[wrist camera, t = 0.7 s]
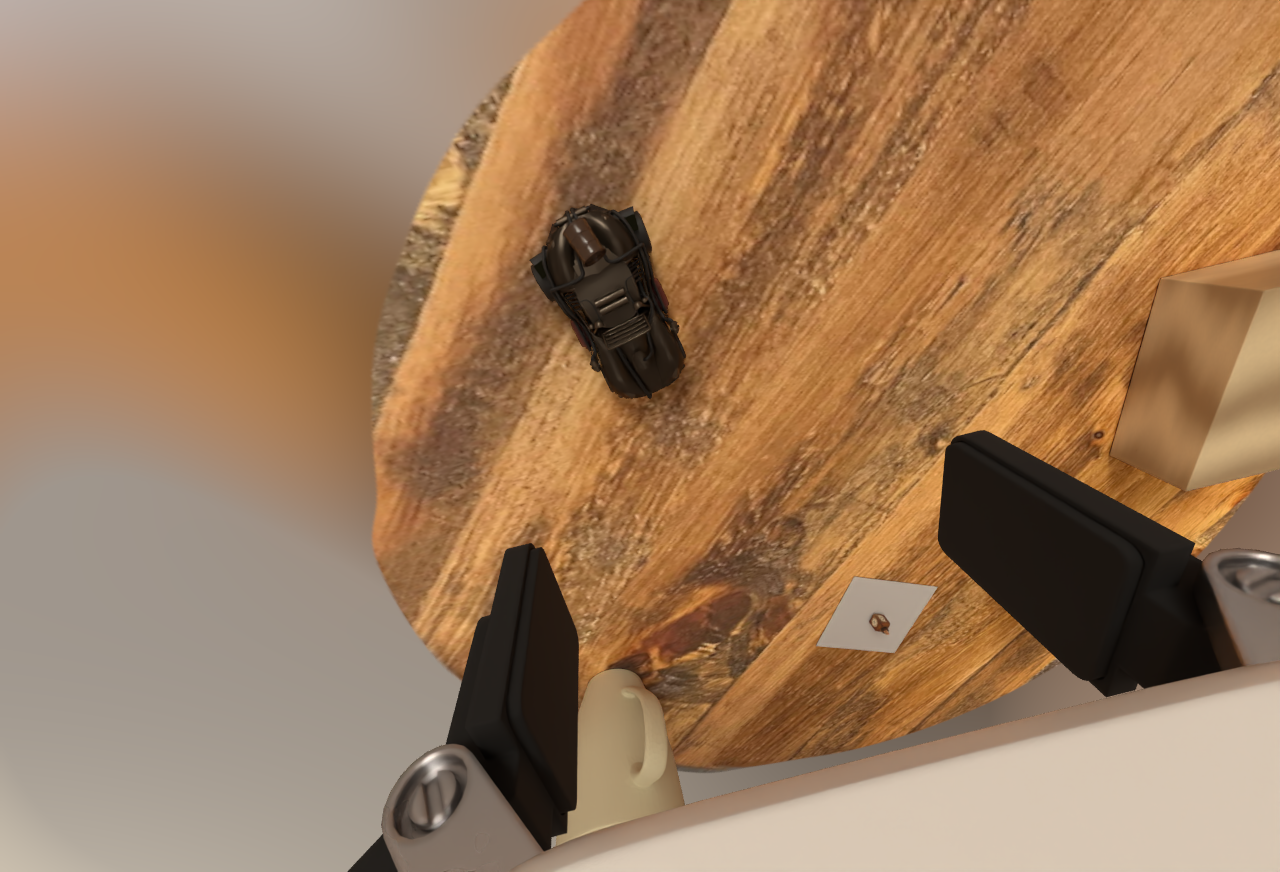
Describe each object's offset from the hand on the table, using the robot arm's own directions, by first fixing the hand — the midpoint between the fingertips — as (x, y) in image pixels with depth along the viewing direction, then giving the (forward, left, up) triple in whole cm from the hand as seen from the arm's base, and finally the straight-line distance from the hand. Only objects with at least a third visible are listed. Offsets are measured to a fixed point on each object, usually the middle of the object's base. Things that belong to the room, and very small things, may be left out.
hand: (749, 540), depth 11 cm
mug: (+28, -9, -19) cm, 35 cm away
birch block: (+10, +36, -19) cm, 42 cm away
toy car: (-2, -1, -19) cm, 19 cm away
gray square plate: (+28, +14, -19) cm, 37 cm away
